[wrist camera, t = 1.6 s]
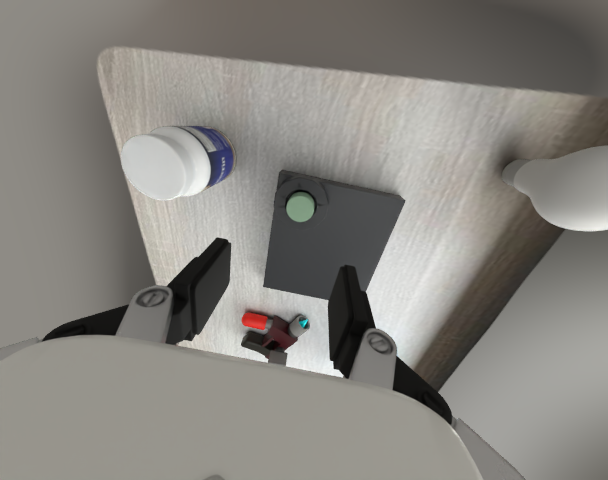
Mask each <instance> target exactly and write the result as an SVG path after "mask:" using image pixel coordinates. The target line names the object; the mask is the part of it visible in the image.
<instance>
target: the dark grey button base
mask: <svg viewBox="0 0 608 480" xmlns="http://www.w3.org/2000/svg"><path fill="white" fill-rule="evenodd" d="M297 192H305V193H307V194H309V195H310V196H311V197H312V199H313V201H314V212H313V215H312V216H311V218H310V219H308V220H307V221H304V222H297V221H294V220H292V219H291V218H290V217H289V216H288V214H287V210H286V206H287V203H288V201H289V199H290V197H291V196H292V195H293V194H294V193H297ZM404 203H405V200H404V199H403V198H402V197H401V196H399V195H394V194H390V193H385V192H381V191H376V190H372V189H367V188H362V187H358V186H353V185H349V184H344V183H340V182H335V181H330V180H326V179H321V178H317V177H312V176H308V175H303V174H299V173H294V172H289V171H285V170H282V171H281V172H280V173H279V178H278V185H277V192H276V193H275V201H274V213H273V220H272V228H271V235H270V242H269V249H268V256H267V263H266V270H265V277H264V285H263V287H267V288H272V289H276V290H281V291H286V292H291V293H296V294H301V295H306V296H311V297H316V298H321V299H326V300H329V299H330V296H331V293H332V290H333V287H334V284H335V281H336V278H337V275H338V272H339V269H340V267H341V266H344V265H345V264H346V265H351V266H355V268H356V272H357V276H358V281H359V285H360V289H361V291H365V292H366V290H367V287H368V285H369V283H370V281H371V278H372V276H373V274H374V271H375V269H376V267H377V265H378V262H379V260H380V258H381V255H382V253H383V251H384V249H385V246H386V244H387V242H388V239H389V237H390V235H391V233H392V230H393V228H394V226H395V223H396V221H397V219H398V217H399V214H400V212H401V210H402V207H403V205H404Z"/></svg>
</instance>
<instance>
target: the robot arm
mask: <svg viewBox="0 0 608 480" xmlns="http://www.w3.org/2000/svg"><path fill="white" fill-rule="evenodd" d="M230 260H231V243H229V242H228V240H227V239H222V238H216V239H215V240H214V241H213V242H212V243H211V244H210V245H209V247H208V248H207V249H206V250H205V251H204V252H203V253H202V254H201V255H200V256H199V257H195V258H194V259H193V260H192V261H191V262H190V263H189V264H188V265H187V266H186V267H185V268H184V269H183V270H182V271H181V272H180V273H179V274H178V275H177V276H176V277H175V278H174V279H173V280H172V281H171V282H170V283H169V284H168V285H167V286H158V285H157V286H150V287H147V288H145V289H142V290H140V291H139V292H138V293H137V294H135V295H134V297H133V298H132V300H131V302H130V304H129V305H125V306H122V307H118V308H115V309H112V310H109V311H105V312H102V313H98V314H95V315H92V316H88V317H85V318H81V319H78V320H75V321H71V322H68V323H66V324H63V325H61V326H59V327H57V328H56V329H54V330H52V331H51V332H50V333H49V334H47V335H46V336H45V338H44V339H41V340H39V339H38V338H37V337H36V338H32V339H29V340H26V341H22V342H19V343H16V344H13V345H9V346H6V347H3V348H0V480H525V478H524V477H523V476H522V475H521V474H520V473H519V472H518V471H517V470H516V469H515V468H514V467H513V466H512V465H511V464H510V463H509V462H507V461H506V460H505V459H504V458H503V457H502V456H501V455H500V454H499V453H498V452H496V451H495V450H494V449H493V448H492V447H491V446H490V445H489V444H488V443H486V442H485V441H484V440H483V439H482V438H481V437H480V436H479V435H478V434H476V433H475V432H474V431H473V430H472V429H471V428H470V427H469V426H468V425H466V424H465V423H464V422H463V421H462V420H461V419H460V418H458V419H457V420H456V419H455V418H454V417H453V416H452V414H451V410H450V408H449V406H448V404H447V403H446V402H445V400H444V399H443V397H442V396H441V395H440V394H439V393H438V392H437V391H436V390H434V389H433V388H432V387H431V386H430V385H429V384H428V383H427V382H425V381H424V380H423V379H422V378H421V377H420V376H419V375H418V374H416V373H415V372H414V371H413V370H412V369H411V368H410V367H409V366H407V365H406V364H405V363H404V362H403V361H402V360H401V359H399V358H398V357H397V356H396V354H397V347H396V344H395V342H394V341H393V339H392V338H391V337H390V336H389V335H388V334H387V333H385V332H384V331H382V330H379V329H376V327H375V323H374V320H373V316H372V312H371V308H370V305H369V301H368V297H367V294H366V292H365V291H361V289H360V285H359V281H358V276H357V272H356V268H355V266H351V265H346V264H345V265H344V266H341V267H340V269H339V272H338V275H337V278H336V281H335V284H334V287H333V290H332V293H331V296H330V299H329V302H328V321H329V350H330V361H333V364H334V369H337V370H339V371H340V372H341V373H342V374H343V375H344V376H343V378H341V377H336V376H331V375H326V374H321V373H316V372H311V371H306V370H301V369H296V368H291V367H286V366H281V365H275V364H270V363H265V362H260V361H255V360H250V359H245V358H239V357H234V356H229V355H224V354H219V353H213V352H208V351H203V350H197V349H192V348H187V347H181V346H178V342H181V341H183V340H188V341H192V340H193V338H194V337H195V335H196V334H197V335H199V334H200V333H201V331H202V329H203V328H204V326H205V324H206V322H207V321H208V319H209V317H210V316H211V314H212V312H213V311H214V309H215V307H216V305H217V304H218V302H219V300H220V299H221V297H222V295H223V294H224V292H225V290H226V288H227V287H228V285H229V281H230Z"/></svg>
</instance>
